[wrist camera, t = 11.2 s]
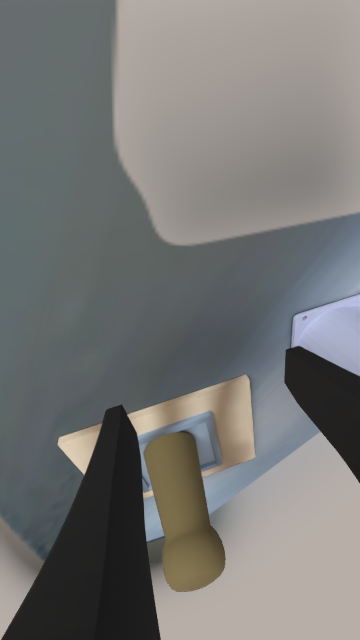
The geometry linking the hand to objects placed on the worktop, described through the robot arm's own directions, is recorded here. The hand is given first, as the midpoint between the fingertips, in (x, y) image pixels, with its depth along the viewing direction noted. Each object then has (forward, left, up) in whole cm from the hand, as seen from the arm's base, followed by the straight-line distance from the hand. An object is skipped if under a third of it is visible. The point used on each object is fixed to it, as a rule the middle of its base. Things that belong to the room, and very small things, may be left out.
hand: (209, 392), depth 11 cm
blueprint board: (+4, +20, -10) cm, 23 cm away
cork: (+4, +18, -9) cm, 21 cm away
